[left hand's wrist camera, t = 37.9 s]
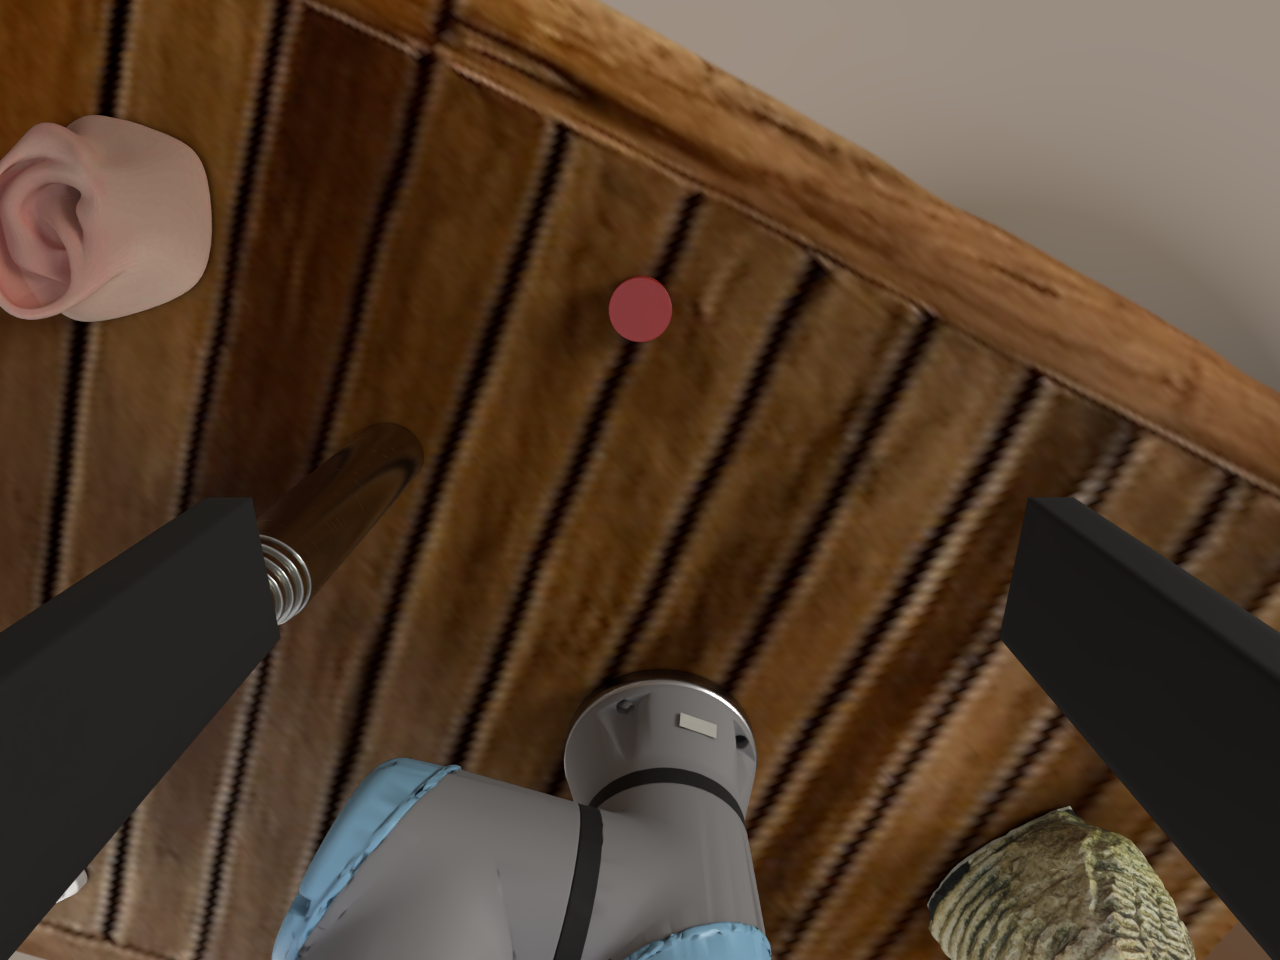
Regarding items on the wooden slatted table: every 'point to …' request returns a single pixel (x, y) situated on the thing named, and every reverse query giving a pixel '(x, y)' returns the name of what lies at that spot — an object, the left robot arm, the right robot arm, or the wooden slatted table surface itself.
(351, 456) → the bottle
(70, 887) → the right robot arm
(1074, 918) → the fossil
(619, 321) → the cap
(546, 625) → the wooden slatted table surface
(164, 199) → the anatomical model
